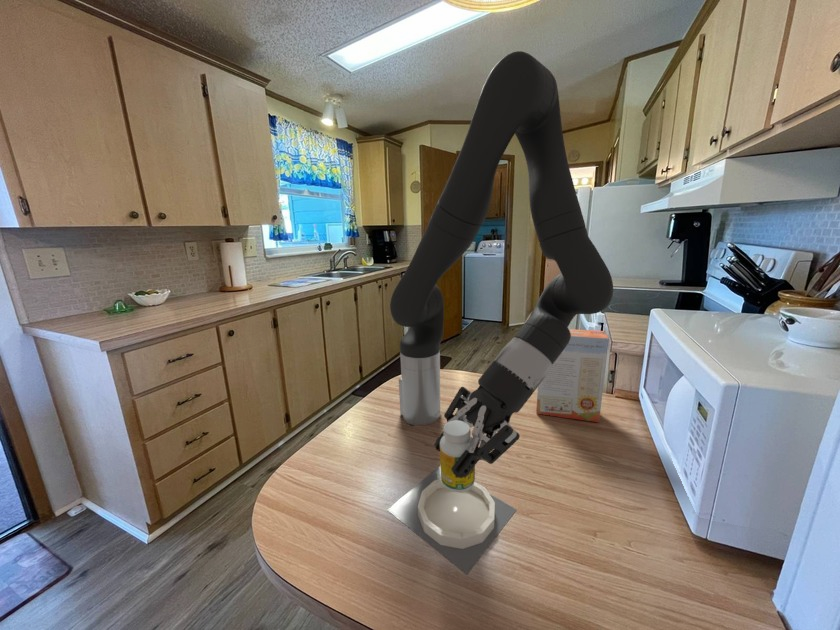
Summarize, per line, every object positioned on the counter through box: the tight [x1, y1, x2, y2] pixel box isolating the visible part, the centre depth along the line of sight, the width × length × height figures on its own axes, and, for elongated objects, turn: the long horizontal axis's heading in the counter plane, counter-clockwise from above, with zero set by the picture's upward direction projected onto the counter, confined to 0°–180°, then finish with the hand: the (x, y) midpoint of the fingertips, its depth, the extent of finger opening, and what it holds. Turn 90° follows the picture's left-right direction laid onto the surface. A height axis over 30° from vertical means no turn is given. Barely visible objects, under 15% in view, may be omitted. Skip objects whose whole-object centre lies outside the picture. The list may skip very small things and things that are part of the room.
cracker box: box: [535, 328, 610, 423], centre depth 81 cm, size 14×6×21 cm, turn 71°
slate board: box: [386, 464, 517, 575], centre depth 56 cm, size 16×14×1 cm
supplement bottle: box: [439, 420, 476, 492], centre depth 52 cm, size 5×5×10 cm
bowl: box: [418, 479, 495, 549], centre depth 55 cm, size 12×12×2 cm
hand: (447, 461), depth 51 cm, fingers closed on supplement bottle, 5 cm apart
